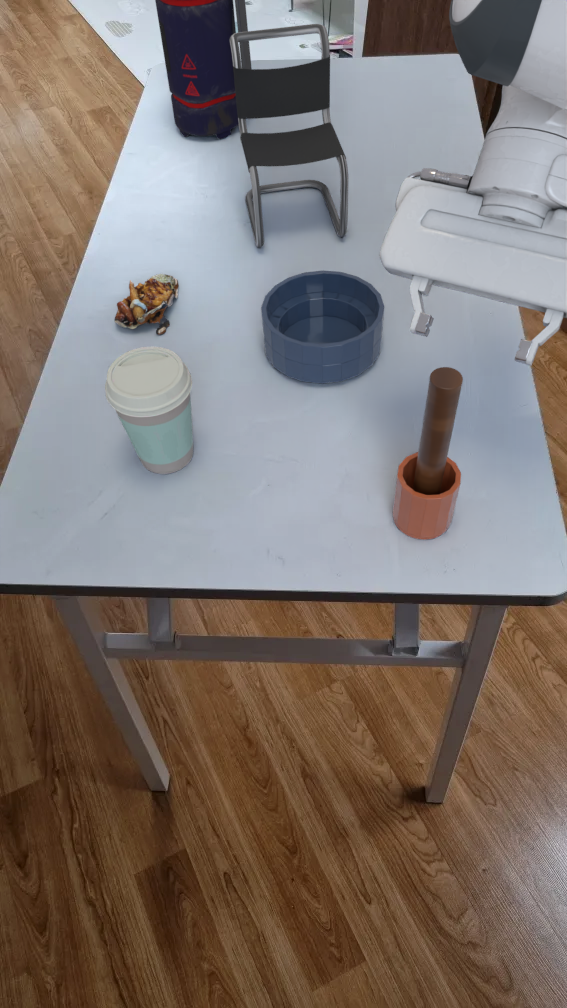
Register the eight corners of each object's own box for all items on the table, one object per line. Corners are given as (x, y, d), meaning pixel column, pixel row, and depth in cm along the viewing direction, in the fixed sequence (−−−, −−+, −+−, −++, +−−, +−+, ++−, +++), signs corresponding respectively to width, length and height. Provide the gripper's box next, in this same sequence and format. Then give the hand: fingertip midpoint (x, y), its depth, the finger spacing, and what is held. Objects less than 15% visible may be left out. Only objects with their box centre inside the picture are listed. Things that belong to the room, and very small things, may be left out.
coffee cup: (217, 434, 80) (203, 351, 71) (186, 492, 75) (166, 410, 66) (148, 419, 82) (125, 335, 73) (114, 474, 77) (84, 392, 68)
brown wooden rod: (436, 504, 72) (463, 368, 58) (434, 525, 71) (462, 390, 57) (410, 501, 73) (431, 365, 58) (408, 521, 71) (428, 387, 57)
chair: (324, 182, 112) (324, 21, 95) (348, 244, 102) (352, 75, 84) (242, 192, 112) (227, 32, 94) (257, 256, 101) (243, 88, 84)
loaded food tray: (185, 279, 98) (181, 255, 96) (166, 336, 91) (160, 312, 88) (135, 277, 99) (130, 254, 96) (112, 333, 92) (105, 310, 89)
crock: (452, 496, 73) (462, 454, 68) (449, 544, 70) (459, 503, 65) (395, 489, 74) (401, 447, 69) (389, 536, 71) (394, 495, 66)
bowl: (386, 315, 92) (390, 275, 87) (373, 392, 83) (376, 352, 78) (277, 306, 94) (275, 266, 89) (253, 380, 85) (249, 340, 81)
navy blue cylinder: (166, 140, 123) (129, -79, 99) (187, 108, 130) (157, -103, 106) (244, 145, 121) (225, -78, 97) (261, 113, 128) (247, -103, 104)
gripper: (400, 150, 61) (350, 312, 63) (655, 199, 54) (588, 377, 57) (414, 176, 67) (367, 323, 69) (645, 223, 60) (585, 383, 63)
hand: (469, 348), depth 63 cm, fingers open, 8 cm apart
